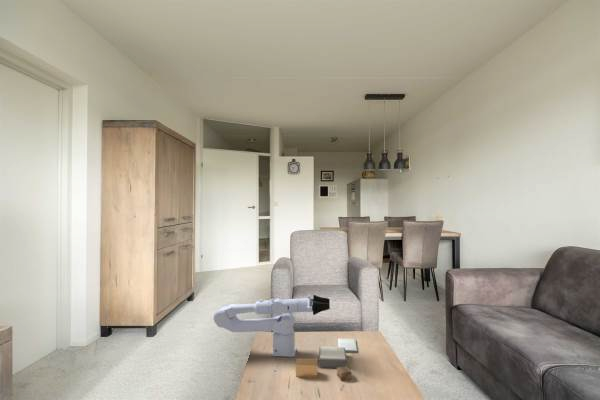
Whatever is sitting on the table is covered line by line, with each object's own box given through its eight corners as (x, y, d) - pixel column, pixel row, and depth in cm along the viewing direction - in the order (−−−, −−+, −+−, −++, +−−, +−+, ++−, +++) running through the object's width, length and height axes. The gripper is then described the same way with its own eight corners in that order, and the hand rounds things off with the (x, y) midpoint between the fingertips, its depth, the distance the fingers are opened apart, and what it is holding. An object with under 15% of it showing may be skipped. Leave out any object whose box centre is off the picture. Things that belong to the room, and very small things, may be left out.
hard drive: (357, 350, 131) (355, 338, 143) (338, 349, 132) (337, 337, 144) (357, 354, 131) (355, 342, 143) (338, 353, 132) (337, 341, 144)
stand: (319, 367, 119) (318, 358, 119) (319, 354, 130) (319, 346, 130) (346, 368, 118) (346, 359, 118) (345, 354, 129) (344, 346, 129)
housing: (295, 377, 112) (295, 363, 113) (296, 371, 116) (296, 358, 117) (317, 378, 112) (317, 364, 112) (317, 372, 116) (317, 359, 116)
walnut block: (341, 381, 109) (341, 372, 110) (337, 375, 113) (337, 367, 113) (351, 379, 110) (351, 371, 111) (346, 374, 114) (346, 366, 114)
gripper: (296, 300, 125) (328, 299, 124) (299, 291, 140) (328, 290, 138) (297, 317, 125) (330, 316, 124) (300, 307, 139) (330, 305, 138)
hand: (329, 303), depth 131 cm, fingers open, 7 cm apart
